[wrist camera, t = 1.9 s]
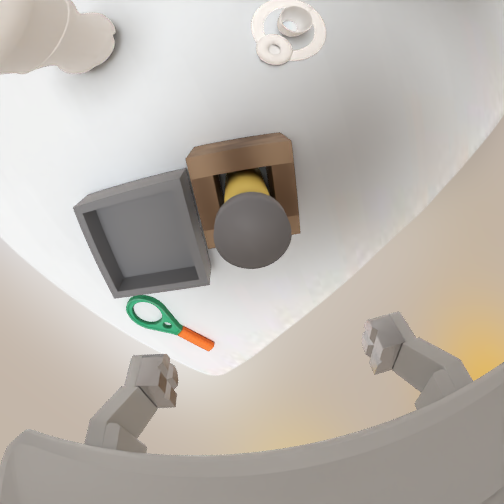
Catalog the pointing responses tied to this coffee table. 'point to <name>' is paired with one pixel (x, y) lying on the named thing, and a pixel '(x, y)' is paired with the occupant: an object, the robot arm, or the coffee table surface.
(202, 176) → the holder
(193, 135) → the coffee table surface
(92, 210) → the tray
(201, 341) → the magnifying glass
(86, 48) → the water bottle
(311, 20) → the teacup and saucer
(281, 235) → the peg
